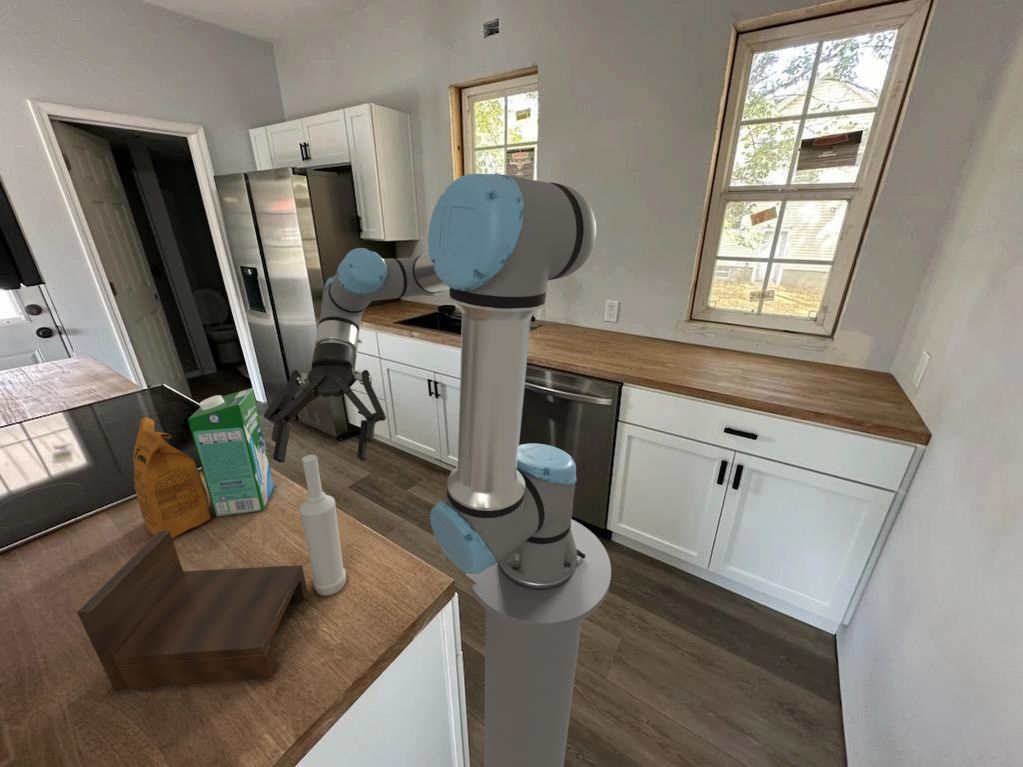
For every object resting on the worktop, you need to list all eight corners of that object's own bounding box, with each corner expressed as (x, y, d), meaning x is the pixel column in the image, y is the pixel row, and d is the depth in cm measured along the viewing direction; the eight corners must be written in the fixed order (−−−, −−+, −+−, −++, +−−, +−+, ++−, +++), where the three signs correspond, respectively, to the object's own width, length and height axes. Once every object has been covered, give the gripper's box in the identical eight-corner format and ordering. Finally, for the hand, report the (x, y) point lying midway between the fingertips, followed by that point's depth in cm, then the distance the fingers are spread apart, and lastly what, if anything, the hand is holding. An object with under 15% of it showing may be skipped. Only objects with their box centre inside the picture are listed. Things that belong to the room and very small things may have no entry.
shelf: (307, 592, 69) (294, 525, 64) (270, 678, 56) (250, 601, 51) (182, 599, 67) (158, 530, 62) (114, 690, 54) (76, 612, 49)
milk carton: (230, 491, 94) (203, 390, 85) (274, 486, 96) (253, 387, 87) (215, 517, 85) (184, 408, 77) (263, 510, 88) (238, 404, 79)
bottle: (353, 580, 71) (335, 455, 62) (327, 601, 67) (304, 471, 58) (334, 568, 74) (314, 446, 65) (307, 587, 70) (282, 460, 61)
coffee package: (199, 497, 91) (173, 407, 83) (218, 522, 84) (191, 426, 76) (141, 519, 84) (106, 423, 76) (157, 549, 77) (120, 446, 69)
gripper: (405, 359, 83) (398, 462, 75) (276, 359, 81) (253, 466, 72) (399, 340, 76) (391, 452, 68) (258, 340, 74) (231, 456, 65)
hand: (320, 459), depth 70 cm, fingers open, 13 cm apart
